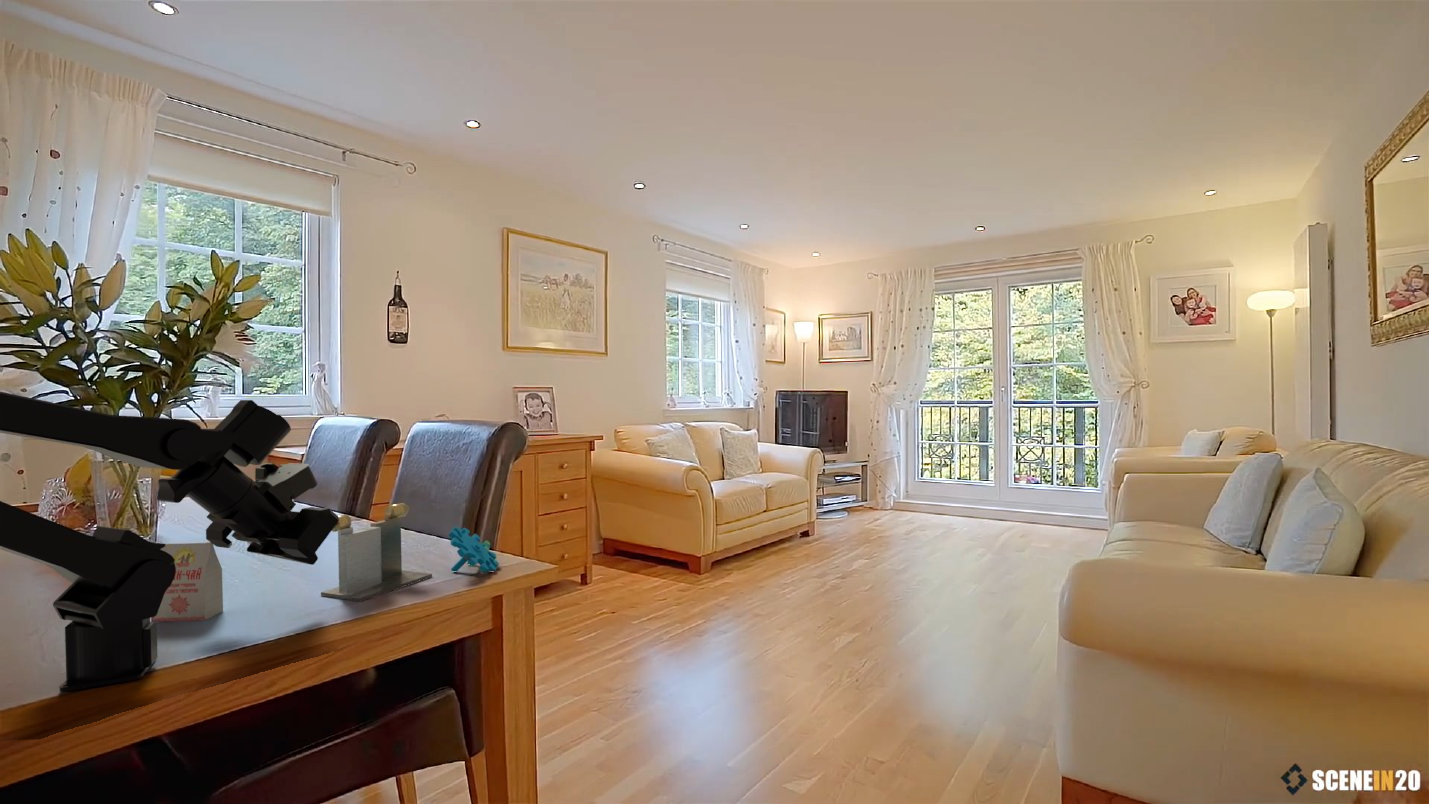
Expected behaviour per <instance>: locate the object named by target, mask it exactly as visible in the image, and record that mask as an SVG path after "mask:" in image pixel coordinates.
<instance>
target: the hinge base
mask: <svg viewBox="0 0 1429 804" xmlns="http://www.w3.org/2000/svg"><path fill="white" fill-rule="evenodd" d="M409 512H410V506H409V505H407V504H406V503H405V502H402V503H396V504H391V505H390V504H389V505H388V506H386V507H385V509H384V513H385V516H384V519H383V520H380V521H379V520H378V521H374V522H371V523H370V527H381V578H382V583H380V584H377V585H374V586H371V587H368V588H365V589H362V590H359V591H356V592H352V593H349V594H342V593H339V586H336V587H333V588H331V589H326V590H324V591H321V592H320V596H321V597H326V598H328V597H329V598H335V599H340V600H347V601H354V602H363V601H366V600H369V599H372V598H375V597H379V596H381V595H384V594H387V593H389V591H390V592H392V590H393V591H395V590H394V589H396V590H398V589H401V588H403V587H402V586H404V585H407V586H409V585H408V584H410V585H412V584H411V583H413V584H416V583H418V582H417V581H419V580H422V581H424V580H423V579H425V580H427V579H429V578H428V577H430V578H432V577H433V574H432V573H428V572H421V571H413V570H412V571H411V570H403V569H402V567H403V565H402V564H403V563H402V523H401V522H402V520H401V519H402V518H404V517H407V515H408V514H409ZM426 578H427V579H426ZM415 582H416V583H415ZM419 582H420V581H419ZM400 587H401V588H400ZM404 587H405V586H404ZM397 588H398V589H397Z"/></svg>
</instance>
